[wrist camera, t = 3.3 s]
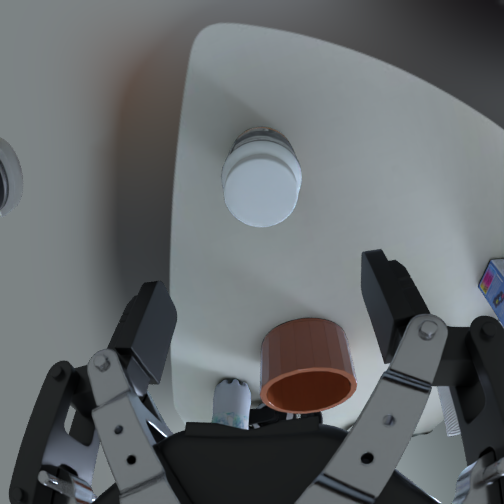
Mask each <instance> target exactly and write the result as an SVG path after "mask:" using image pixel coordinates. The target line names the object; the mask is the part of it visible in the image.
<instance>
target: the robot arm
mask: <svg viewBox="0 0 504 504" xmlns="http://www.w3.org/2000/svg"><path fill="white" fill-rule="evenodd" d="M8 195H9V184H8V178H7V174H6V171H5V168H4V166H3V164H2V162H1V160H0V209H2V208H3V207H4V206H5V204H6V202H7V200H8ZM361 290H362V295H363V299H364V302H365V305H366V308H367V311H368V314H369V316H370V319H371V322H372V325H373V329H374V332H375V335H376V338H377V341H378V344H379V347H380V351H381V354H382V357H383V361H384V364H387V363H390V365H389V367H388V369H387V371H386V372H384V373H383V374H382V376H381V378H380V380H379V381H378V383H377V385H376V387H375V389H374V391H373V393H372V394H371V396H370V398H369V400H368V402H367V403H366V405H365V407H364V409H363V410H362V412H361V414H360V415H359V417H358V419H357V420H356V422H355V423H354V425H353V427H352V428H351V430H350V431H349V432H348V431H346V430H343V429H341V428H338V427H335V426H330V425H325V424H319V418H318V416H315V417H307V418H298V419H288V420H282V421H279V422H276V423H273V424H269V425H266V426H262V427H259V428H255V429H251V430H247V429H241V428H237V427H232V426H228V425H224V424H219V423H199V422H186V428H185V431H181V432H178V433H175V434H173V433H172V432H171V431H170V429H169V428H168V426H167V425H166V423H165V422H164V420H163V418H162V416H161V414H160V413H159V411H158V408H157V407H156V405H155V403H154V401H153V399H152V397H151V395H150V393H149V392H148V391H147V388H148V385H149V384H159V383H160V380H161V376H162V372H163V368H164V365H165V361H166V357H167V354H168V350H169V347H170V343H171V339H172V336H173V332H174V329H175V326H176V322H177V311H176V308H175V306H174V304H173V302H172V300H171V298H170V295H169V293H168V291H167V289H166V287H165V285H164V283H163V282H162V281H155V282H147V283H144V284H143V285H142V287H141V289H140V291H139V293H138V295H137V296H134V297H133V299H132V300H131V301H130V302H129V303H128V304H127V306H126V308H125V310H124V312H123V315H122V316H121V319H120V323H118V325H117V327H116V329H115V332H114V334H113V336H112V338H111V341H110V343H109V345H108V348H107V349H103V350H100V351H98V352H97V353H95V354H94V355H93V356H92V357H91V359H90V360H89V363H88V365H86V366H82V367H78V368H74V367H73V366H72V365H71V364H70V363H69V362H68V361H60V362H57V363H56V364H55V365H53V366H52V367H51V369H50V370H49V372H48V374H47V376H46V379H45V381H44V383H43V385H42V388H41V390H40V393H39V396H38V398H37V401H36V403H35V406H34V408H33V412H32V414H31V417H30V420H29V422H28V425H27V428H26V431H25V434H24V437H23V440H22V443H21V447H20V450H19V453H18V457H17V460H16V464H15V468H14V472H13V476H12V480H11V484H10V488H9V499H10V502H11V504H441V503H440V502H438V501H437V500H436V499H434V498H433V497H432V496H430V495H429V494H428V493H426V492H425V491H424V490H422V489H421V488H420V487H418V486H417V485H416V484H414V483H413V482H412V481H410V480H409V479H408V478H406V477H405V476H404V475H402V474H401V473H400V472H399V471H398V470H396V469H395V468H396V466H397V464H398V462H399V460H400V459H401V457H402V455H403V453H404V451H405V449H406V447H407V445H408V443H409V441H410V439H411V437H412V435H413V433H414V431H415V428H416V426H417V424H418V422H419V420H420V417H421V415H422V413H423V410H424V408H425V405H426V403H427V400H428V398H429V395H430V392H431V389H432V387H431V386H448V387H449V390H450V393H451V397H452V400H453V404H454V408H455V411H456V415H457V419H458V423H459V428H460V432H461V436H462V440H463V445H464V451H465V456H466V461H467V467H466V468H465V469H464V470H463V471H462V472H461V474H460V475H459V477H458V480H457V484H456V494H455V498H454V500H453V502H452V503H451V504H504V328H503V326H502V325H501V323H500V322H499V321H498V320H496V319H495V318H493V317H490V316H480V317H477V318H475V319H474V320H473V322H472V323H471V325H470V327H450V326H446V324H445V323H444V321H443V320H442V319H440V318H439V317H437V316H435V315H432V314H430V312H429V310H428V308H427V306H426V304H425V302H424V300H423V298H422V296H421V295H420V293H419V291H418V289H417V287H416V286H415V284H414V282H413V280H412V278H410V275H409V273H408V271H407V270H406V268H405V267H404V266H403V265H402V264H400V263H399V262H398V261H396V260H391V261H388V260H387V258H386V256H385V254H384V252H383V251H382V250H381V249H377V250H371V251H365V252H362V261H361ZM70 405H71V406H72V407H73V408H74V409H75V410H76V412H75V415H74V419H73V422H72V425H71V429H70V432H69V435H68V434H67V433H66V431H65V428H64V422H65V419H66V416H67V412H68V409H69V406H70ZM100 442H101V445H102V448H103V451H104V454H105V456H106V459H107V462H108V464H109V467H110V469H111V472H112V474H113V476H114V479H115V481H116V482H115V483H114V484H113V485H112V486H111V487H110V488H108V489H107V490H106V491H105V492H104V493H102V494H101V495H100V496H99V497H98V498H97V496H96V495H95V494H93V490H92V488H91V483H92V478H93V472H94V468H95V463H96V457H97V453H98V449H99V444H100Z"/></svg>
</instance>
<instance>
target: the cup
mask: <svg viewBox="0 0 504 504" xmlns="http://www.w3.org/2000/svg"><path fill="white" fill-rule="evenodd" d="M437 389H438V393H439V397H440V402H441V406H442V411H443V415H444V420H445V425H446V430H447V435H448V436H450V437H452V436H456V435H459V434H461V432H460V428H459V423H458V419H457V415H456V411H455V408H454V404H453V400H452V397H451V393H450V390H449V387H448V386H437Z"/></svg>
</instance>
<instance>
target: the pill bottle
mask: <svg viewBox="0 0 504 504" xmlns="http://www.w3.org/2000/svg"><path fill="white" fill-rule="evenodd" d="M221 179H222V186H223V189H224V200H225V203H226V206H227V208H228V209H229V211H230V212H231V214H232V215H233V216H234V217H235V218H237V219H238V220H239V221H241V222H243V223H245V224H247V225H250V226H254V227H268V226H273V225H276V224H278V223H280V222H282V221H283V220H285V219H286V218H287V217H288V216H289V215H290V214H291V213H292V211H293V210H294V208H295V206H296V203H297V200H298V193H299V190H300V187H301V182H302V174H301V167H300V164H299V162H298V160H297V158H296V155H295V153H294V150H293V148H292V146H291V144H290V143H289V141H288V140H287V138H286V137H285V136H284V135H283V134H281V133H280V132H278V131H276V130H274V129H271V128H267V127H256V128H252V129H249V130H247V131H245V132H244V133H242V134H241V135H240V136H239V137H238V138H237V139H236V141H235V142H234V144H233V146H232V148H231V150H230V152H229V155H228V157H227V159H226V161H225V163H224V166H223V169H222V174H221Z"/></svg>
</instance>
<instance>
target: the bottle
mask: <svg viewBox="0 0 504 504" xmlns="http://www.w3.org/2000/svg"><path fill="white" fill-rule="evenodd" d="M250 404H251V393H250V390H249V388H248V385H247V384H246V383H244V382H242V383H241V385H240V384H239V382H238V380H236V379H234V380H233V382H232V383H231V384H228V380H223V381H222V382H221V383H219V384H218V385H217V386H216V388H215V391H214V399H213V416H212V423H219V424H224V425H228V426H232V427H237V428H241V429H247V430H248V425H249V411H250Z"/></svg>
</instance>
